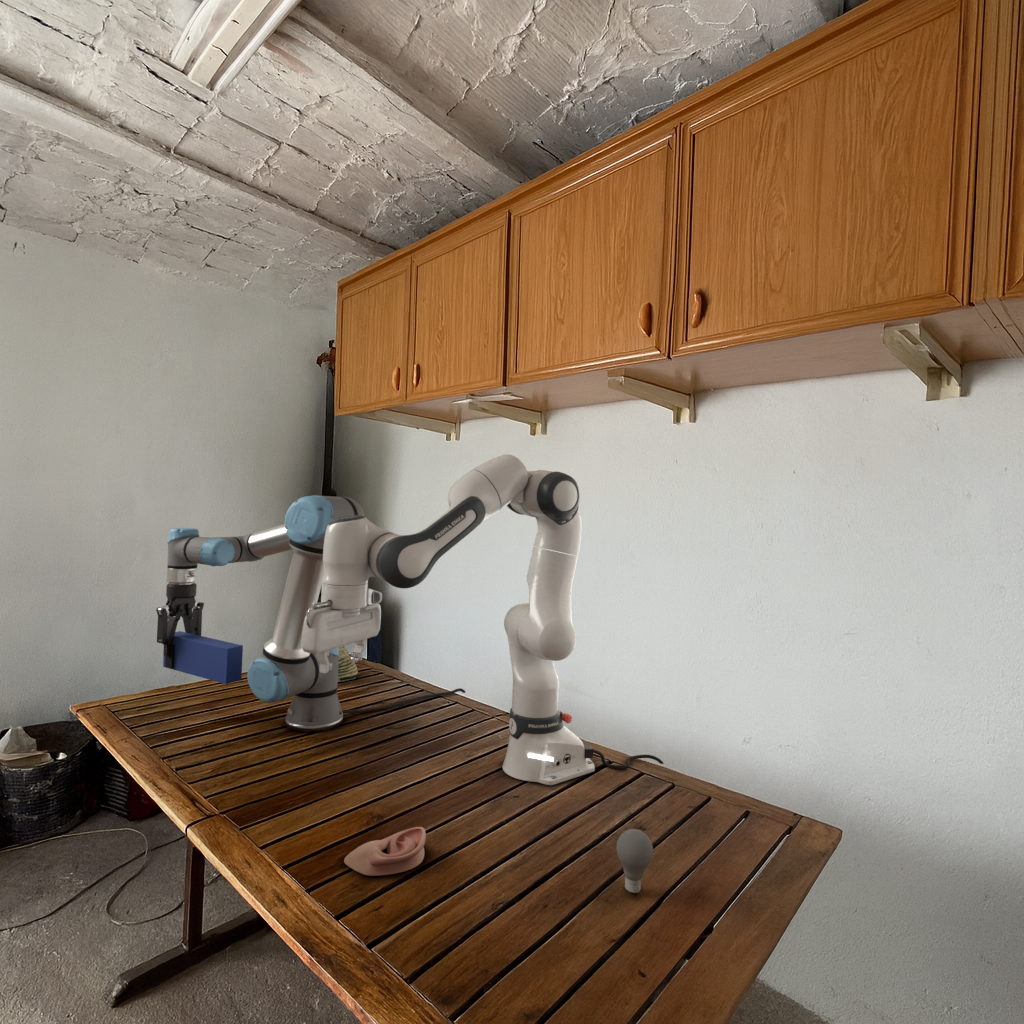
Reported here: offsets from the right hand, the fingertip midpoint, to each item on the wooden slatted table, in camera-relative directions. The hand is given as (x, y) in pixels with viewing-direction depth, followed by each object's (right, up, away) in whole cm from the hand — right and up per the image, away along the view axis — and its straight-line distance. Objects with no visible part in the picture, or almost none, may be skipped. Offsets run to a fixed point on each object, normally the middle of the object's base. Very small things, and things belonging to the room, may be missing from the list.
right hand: (341, 666), depth 126 cm
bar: (-51, -14, +48) cm, 72 cm away
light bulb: (+54, -33, -20) cm, 66 cm away
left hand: (-60, -12, +53) cm, 81 cm away
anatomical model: (+11, -31, -14) cm, 36 cm away
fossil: (-29, -27, +91) cm, 99 cm away
